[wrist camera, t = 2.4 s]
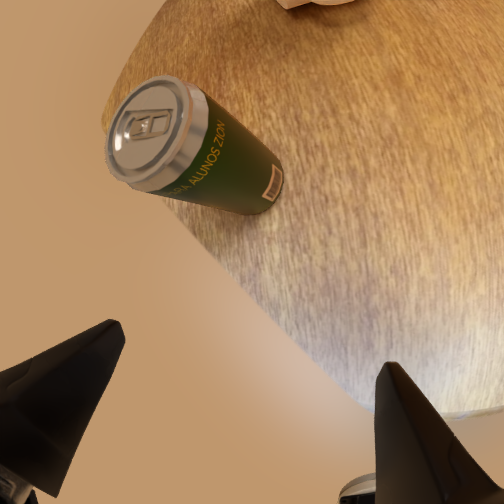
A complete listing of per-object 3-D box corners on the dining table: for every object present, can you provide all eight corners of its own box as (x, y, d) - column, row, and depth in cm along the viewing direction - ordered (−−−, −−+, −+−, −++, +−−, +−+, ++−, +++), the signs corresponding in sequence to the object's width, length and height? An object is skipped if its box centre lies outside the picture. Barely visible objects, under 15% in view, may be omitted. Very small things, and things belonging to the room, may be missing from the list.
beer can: (290, 150, 20) (207, 59, 9) (281, 220, 20) (178, 190, 9) (227, 148, 22) (118, 85, 11) (217, 212, 22) (92, 188, 11)
